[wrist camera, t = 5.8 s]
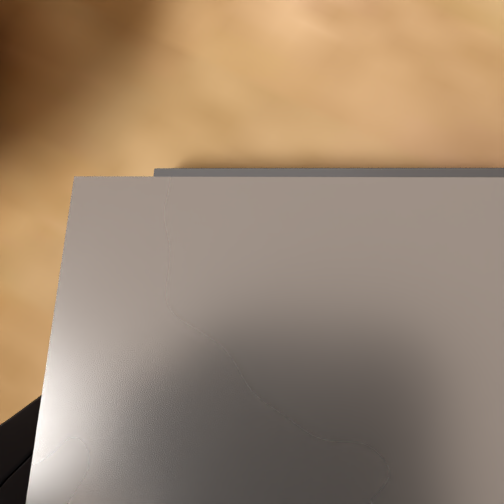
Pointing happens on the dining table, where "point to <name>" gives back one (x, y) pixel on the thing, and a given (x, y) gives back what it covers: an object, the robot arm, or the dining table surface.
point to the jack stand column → (276, 343)
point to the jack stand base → (330, 172)
